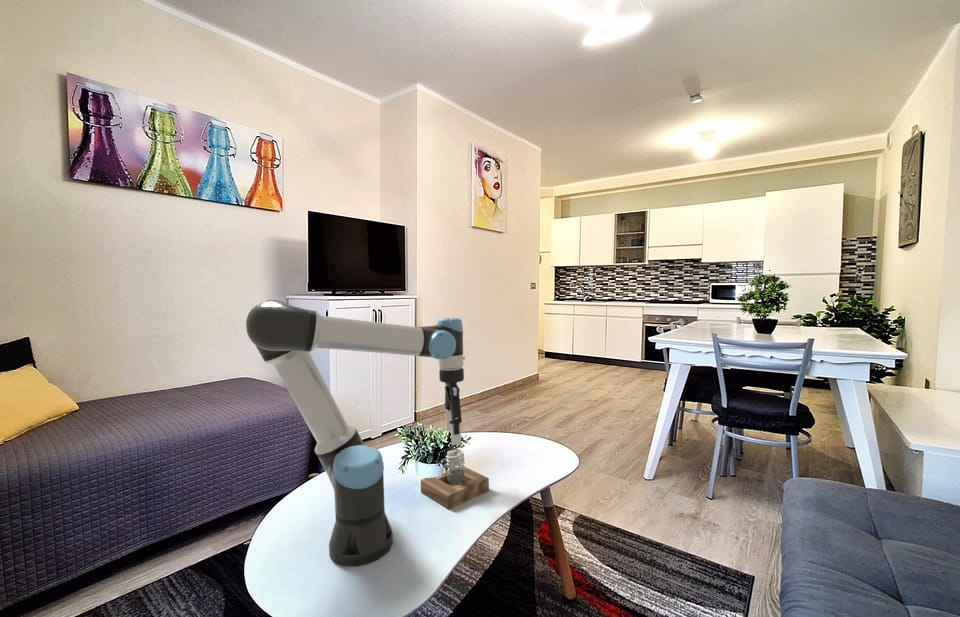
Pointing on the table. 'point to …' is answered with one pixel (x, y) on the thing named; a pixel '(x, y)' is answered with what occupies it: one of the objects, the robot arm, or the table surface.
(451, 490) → the socket board
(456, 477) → the light bulb
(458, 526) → the table surface
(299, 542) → the table surface
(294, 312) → the robot arm
